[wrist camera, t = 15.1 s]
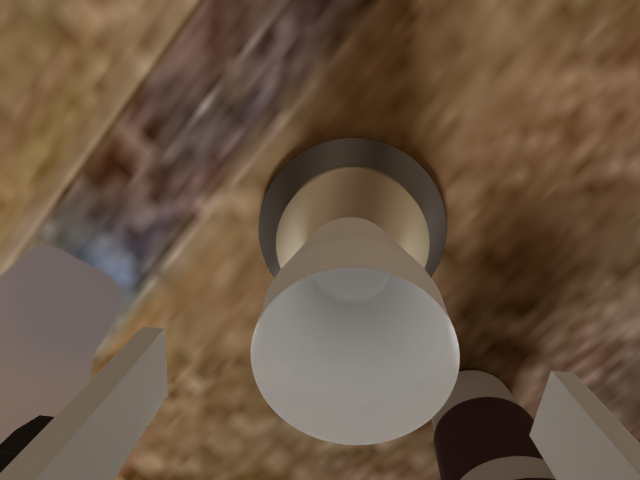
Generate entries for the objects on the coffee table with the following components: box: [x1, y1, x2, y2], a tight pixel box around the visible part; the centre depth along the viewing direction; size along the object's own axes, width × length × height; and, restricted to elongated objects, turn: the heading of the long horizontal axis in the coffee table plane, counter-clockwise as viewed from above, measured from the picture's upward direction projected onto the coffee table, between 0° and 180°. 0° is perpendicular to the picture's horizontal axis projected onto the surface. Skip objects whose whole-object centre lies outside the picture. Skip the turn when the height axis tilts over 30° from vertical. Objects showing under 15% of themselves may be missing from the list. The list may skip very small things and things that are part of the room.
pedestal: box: [259, 138, 447, 278], centre depth 28 cm, size 15×15×4 cm
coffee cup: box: [432, 370, 556, 480], centre depth 27 cm, size 10×10×15 cm
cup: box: [251, 217, 460, 445], centre depth 21 cm, size 9×9×12 cm
